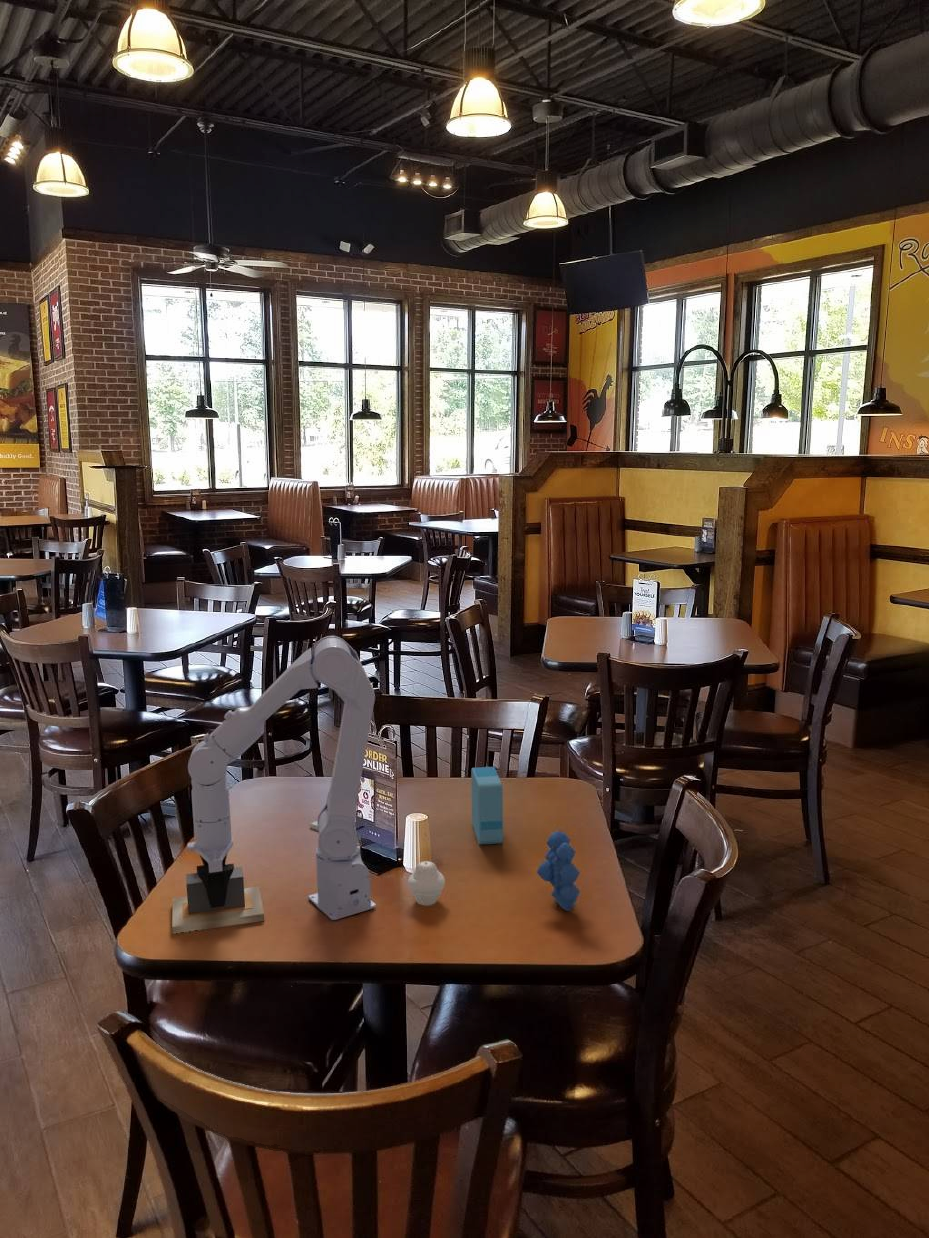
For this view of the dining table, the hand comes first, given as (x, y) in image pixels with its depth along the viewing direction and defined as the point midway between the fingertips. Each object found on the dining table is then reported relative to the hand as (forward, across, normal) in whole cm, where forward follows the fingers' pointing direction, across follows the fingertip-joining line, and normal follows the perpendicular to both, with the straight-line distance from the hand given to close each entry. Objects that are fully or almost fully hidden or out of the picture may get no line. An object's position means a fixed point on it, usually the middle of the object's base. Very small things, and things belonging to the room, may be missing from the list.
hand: (216, 895), depth 154 cm
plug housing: (+2, 0, 0) cm, 2 cm away
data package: (+3, -17, +51) cm, 54 cm away
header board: (+3, 0, 0) cm, 3 cm away
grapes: (+3, +14, +53) cm, 55 cm away
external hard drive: (+4, -31, +26) cm, 41 cm away
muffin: (+3, +6, +33) cm, 34 cm away
